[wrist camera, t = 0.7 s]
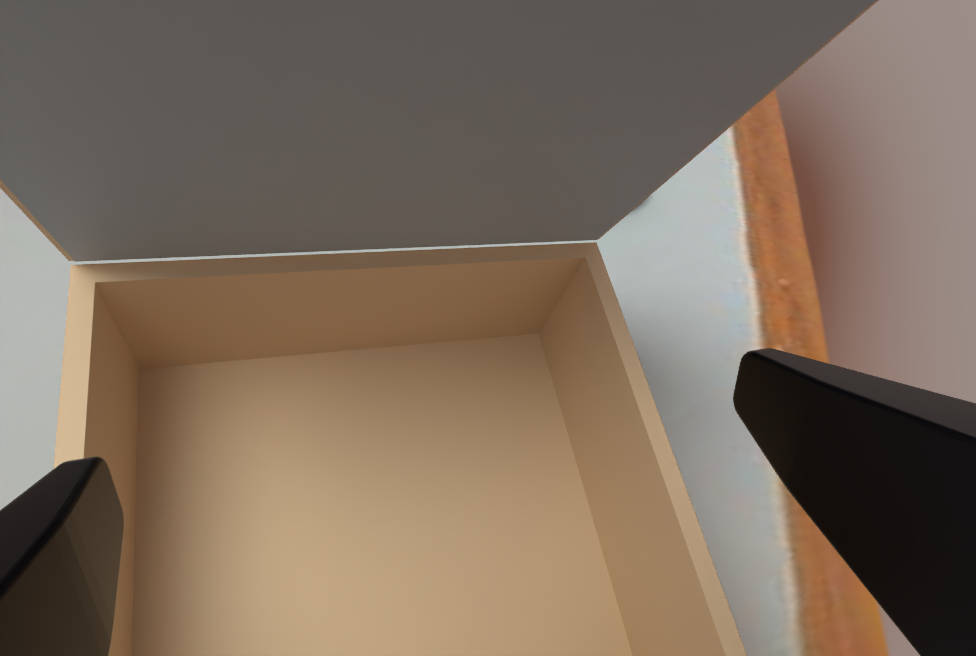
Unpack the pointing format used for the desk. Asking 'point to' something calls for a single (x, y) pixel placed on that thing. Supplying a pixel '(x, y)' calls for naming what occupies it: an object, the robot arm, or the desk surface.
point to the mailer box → (384, 458)
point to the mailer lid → (371, 115)
